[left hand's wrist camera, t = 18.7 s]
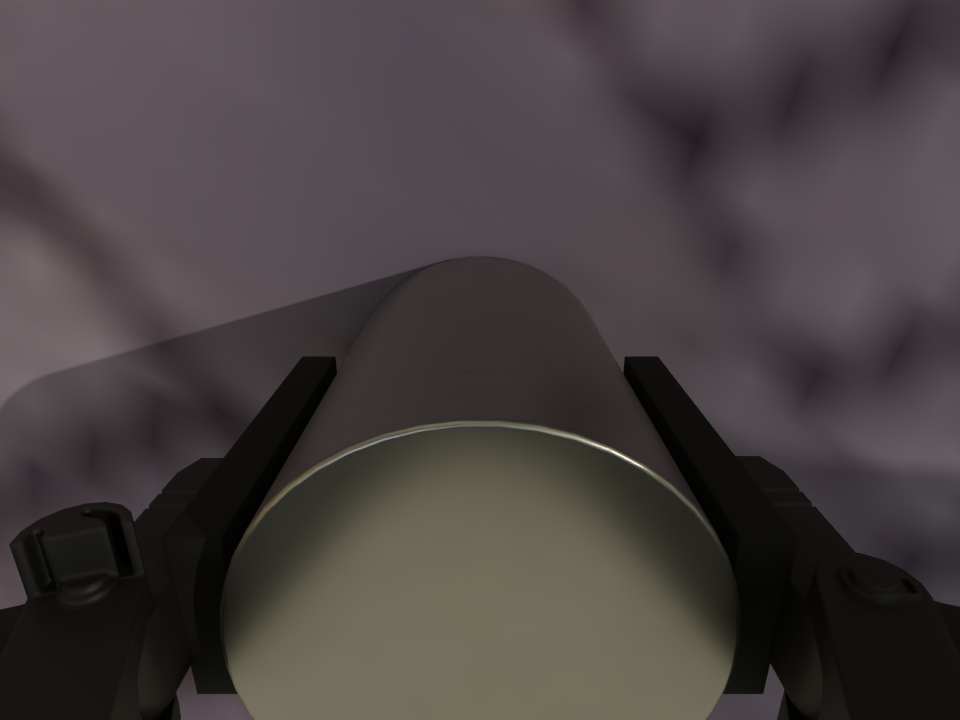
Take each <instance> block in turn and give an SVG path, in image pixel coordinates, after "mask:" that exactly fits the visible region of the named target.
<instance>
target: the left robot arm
mask: <svg viewBox="0 0 960 720" xmlns="http://www.w3.org/2000/svg"><path fill="white" fill-rule="evenodd" d="M623 374H624V376H625V377H626V379H627V381H628V382H629V384H630V386H631V388H632V389H633V391H634V393H635V394H636V396H637V398H638V400H639V401H640V403H641V405H642V406H643V408H644V410H645V412H646V413H647V415H648V417H649V419H650V420H651V422H652V424H653V425H654V427H655V429H656V431H657V432H658V434H659V436H660V437H661V439H662V441H663V443H664V444H665V446H666V448H667V449H668V451H669V453H670V455H671V456H672V458H673V460H674V461H675V463H676V465H677V467H678V468H679V470H680V472H681V473H682V475H683V477H684V479H685V480H686V482H687V484H688V485H689V487H690V489H691V491H692V492H693V494H694V496H695V497H696V499H697V501H698V503H699V504H700V506H701V508H702V509H703V511H704V513H705V515H706V516H707V518H708V520H709V522H710V523H711V525H712V527H713V528H714V530H715V532H716V534H717V536H718V538H719V540H720V541H721V543H722V545H723V547H724V549H725V551H726V553H727V555H728V557H729V560H730V563H731V566H732V569H733V572H734V575H735V578H736V582H737V587H738V594H739V601H740V608H741V614H740V640H739V645H738V650H737V655H736V660H735V665H734V667H733V670H732V673H731V675H730V678H729V681H728V683H727V686H726V688H725V690H724V692H723V694H763V691H764V687H765V683H766V679H767V674H768V670H769V666H770V663H771V665H772V667H773V669H774V671H775V672H776V674H777V676H778V678H779V680H780V682H781V683H782V685H783V687H784V689H785V690H784V694H783V698H782V702H781V706H780V710H779V714H778V718H777V720H960V607H958V606H953V605H948V604H944V603H940V602H936V601H934V600H933V598H932V597H931V595H930V594H929V593H928V591H927V590H926V589H925V587H924V586H923V585H922V584H921V583H920V582H919V581H918V580H916V579H915V578H914V577H912V576H911V575H910V574H908V573H907V572H906V571H904V570H903V569H901V568H898V567H896V566H894V565H892V564H890V563H888V562H886V561H884V560H882V559H878V558H875V557H871V556H868V555H865V554H861V553H856V552H855V551H854V550H853V549H852V548H851V547H850V546H849V544H848V543H847V542H846V541H845V540H844V539H843V538H842V537H841V535H840V534H839V533H838V532H837V531H836V530H835V529H834V527H833V526H832V525H831V524H830V523H829V522H828V521H827V520H826V518H825V517H824V516H823V515H822V514H821V513H820V512H819V511H818V509H817V508H816V507H812V503H811V501H810V500H809V499H808V498H807V497H806V496H805V495H804V494H803V492H799V488H798V487H797V486H796V485H795V483H794V482H793V481H792V480H791V479H790V478H789V477H788V475H787V474H786V473H785V472H784V471H783V470H781V469H779V468H778V467H776V466H774V465H773V464H771V463H770V462H768V461H766V460H765V459H763V458H761V457H760V456H735V455H734V454H733V453H732V451H731V450H730V449H729V447H728V446H727V445H726V444H725V442H724V441H723V440H722V438H721V437H720V436H719V435H718V433H717V432H716V431H715V429H714V428H713V427H712V426H711V424H710V423H709V422H708V420H707V419H706V418H705V417H704V415H703V414H702V413H701V411H700V410H699V409H698V408H697V406H696V405H695V404H694V402H693V401H692V400H691V399H690V397H689V396H688V395H687V393H686V392H685V391H684V390H683V388H682V387H681V386H680V384H679V383H678V382H677V381H676V379H675V378H674V377H673V375H672V374H671V373H670V372H669V370H668V369H667V368H666V366H665V365H664V364H663V363H662V361H661V360H660V359H659V357H625V362H624V373H623ZM336 375H337V368H336V358H335V357H302V358H301V359H300V361H299V362H298V363H297V364H296V366H295V367H294V368H293V370H292V371H291V372H290V373H289V375H288V376H287V377H286V379H285V380H284V381H283V382H282V384H281V385H280V386H279V388H278V389H277V390H276V391H275V393H274V394H273V395H272V397H271V398H270V399H269V400H268V402H267V403H266V404H265V406H264V407H263V408H262V409H261V411H260V412H259V413H258V415H257V416H256V417H255V418H254V420H253V421H252V422H251V424H250V425H249V426H248V427H247V429H246V430H245V431H244V433H243V434H242V435H241V436H240V438H239V439H238V440H237V442H236V443H235V444H234V445H233V447H232V448H231V449H230V451H229V452H228V453H227V455H226V456H225V457H224V458H201V459H199V460H198V461H196V462H194V463H193V464H191V465H190V466H188V467H186V468H185V469H183V470H181V471H180V472H178V473H177V474H176V475H175V476H174V477H173V478H172V480H171V481H170V482H169V483H168V484H167V485H166V486H165V488H164V489H163V490H162V494H158V496H157V497H156V498H155V499H154V500H153V501H152V502H151V504H150V505H149V509H145V510H144V512H143V513H142V514H141V515H140V516H139V517H138V518H137V519H136V521H135V522H134V521H133V517H132V513H131V511H129V510H128V509H127V508H125V507H124V506H123V505H119V504H114V503H108V502H102V503H89V504H83V505H79V506H75V507H71V508H67V509H63V510H60V511H58V512H56V513H53V514H51V515H49V516H46V517H44V518H42V519H39V520H38V521H36V522H35V523H33V524H32V525H30V526H29V527H27V528H26V529H24V530H23V531H21V532H20V533H19V534H18V535H17V537H16V538H15V539H14V540H13V541H12V542H11V543H10V544H9V545H10V548H11V551H12V554H13V557H14V559H15V562H16V565H17V568H18V571H19V574H20V577H21V580H22V583H23V586H24V588H25V591H26V594H27V597H28V599H27V601H26V603H25V604H23V605H20V606H15V607H11V608H6V609H1V610H0V720H181V714H180V707H179V702H178V698H177V694H176V691H177V689H178V688H179V686H180V684H181V682H182V680H183V678H184V676H185V675H186V673H187V671H188V669H189V667H190V665H191V668H192V672H193V677H194V681H195V685H196V690H197V694H238V693H237V691H236V689H235V687H234V684H233V682H232V679H231V676H230V674H229V671H228V669H227V666H226V662H225V657H224V652H223V647H222V643H221V628H220V606H221V599H222V591H223V584H224V581H225V577H226V574H227V571H228V568H229V565H230V562H231V559H232V556H233V554H234V552H235V550H236V548H237V546H238V545H239V543H240V541H241V539H242V537H243V535H244V533H245V531H246V529H247V528H248V526H249V524H250V522H251V521H252V519H253V517H254V516H255V514H256V512H257V510H258V509H259V507H260V505H261V504H262V502H263V500H264V498H265V497H266V495H267V493H268V492H269V490H270V488H271V486H272V485H273V483H274V481H275V479H276V478H277V476H278V474H279V473H280V471H281V469H282V467H283V466H284V464H285V462H286V461H287V459H288V457H289V455H290V454H291V452H292V450H293V449H294V447H295V445H296V443H297V442H298V440H299V438H300V436H301V435H302V433H303V431H304V430H305V428H306V426H307V424H308V423H309V421H310V419H311V418H312V416H313V414H314V412H315V411H316V409H317V407H318V406H319V404H320V402H321V400H322V399H323V397H324V395H325V393H326V392H327V390H328V388H329V387H330V385H331V383H332V381H333V380H334V378H335V376H336Z"/></svg>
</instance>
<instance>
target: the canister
mask: <svg viewBox="0 0 960 720" xmlns="http://www.w3.org/2000/svg"><path fill="white" fill-rule="evenodd" d="M740 614H741V608H740V601H739V594H738V587H737V582H736V578H735V575H734V572H733V569H732V566H731V563H730V560H729V557H728V555H727V553H726V551H725V549H724V547H723V545H722V543H721V541H720V540H719V538H718V536H717V534H716V532H715V530H714V528H713V527H712V525H711V523H710V522H709V520H708V518H707V516H706V515H705V513H704V511H703V509H702V508H701V506H700V504H699V503H698V501H697V499H696V497H695V496H694V494H693V492H692V491H691V489H690V487H689V485H688V484H687V482H686V480H685V479H684V477H683V475H682V473H681V472H680V470H679V468H678V467H677V465H676V463H675V461H674V460H673V458H672V456H671V455H670V453H669V451H668V449H667V448H666V446H665V444H664V443H663V441H662V439H661V437H660V436H659V434H658V432H657V431H656V429H655V427H654V425H653V424H652V422H651V420H650V419H649V417H648V415H647V413H646V412H645V410H644V408H643V406H642V405H641V403H640V401H639V400H638V398H637V396H636V394H635V393H634V391H633V389H632V388H631V386H630V384H629V382H628V381H627V379H626V377H625V376H624V374H623V372H622V370H621V369H620V367H619V365H618V364H617V362H616V360H615V358H614V357H613V355H612V353H611V352H610V350H609V348H608V346H607V345H606V343H605V341H604V340H603V338H602V336H601V334H600V333H599V331H598V329H597V328H596V326H595V324H594V322H593V321H592V319H591V317H590V316H589V314H588V312H587V311H586V310H585V308H584V307H583V306H582V304H581V303H580V302H579V300H578V299H577V298H576V297H575V296H574V295H573V294H572V293H571V292H570V291H569V290H568V289H567V288H565V287H564V286H563V285H562V284H560V283H559V282H558V281H556V280H555V279H554V278H552V277H550V276H548V275H547V274H545V273H543V272H542V271H540V270H538V269H535V268H533V267H530V266H528V265H525V264H523V263H519V262H515V261H512V260H508V259H502V258H494V257H466V258H459V259H452V260H449V261H445V262H441V263H438V264H435V265H432V266H430V267H428V268H425V269H423V270H420V271H419V272H417V273H415V274H414V275H412V276H410V277H408V278H407V279H405V280H404V281H403V282H401V283H400V284H399V285H398V286H396V287H395V288H394V289H392V290H391V292H390V293H389V294H388V295H387V296H386V297H385V298H384V299H383V300H382V301H381V302H380V303H379V305H378V306H377V308H376V309H375V310H374V312H373V313H372V314H371V316H370V318H369V320H368V321H367V323H366V325H365V326H364V328H363V330H362V332H361V333H360V335H359V337H358V338H357V340H356V342H355V344H354V345H353V347H352V349H351V350H350V352H349V354H348V356H347V357H346V359H345V361H344V363H343V364H342V366H341V368H340V369H339V371H338V373H337V375H336V376H335V378H334V380H333V381H332V383H331V385H330V387H329V388H328V390H327V392H326V393H325V395H324V397H323V399H322V400H321V402H320V404H319V406H318V407H317V409H316V411H315V412H314V414H313V416H312V418H311V419H310V421H309V423H308V424H307V426H306V428H305V430H304V431H303V433H302V435H301V436H300V438H299V440H298V442H297V443H296V445H295V447H294V449H293V450H292V452H291V454H290V455H289V457H288V459H287V461H286V462H285V464H284V466H283V467H282V469H281V471H280V473H279V474H278V476H277V478H276V479H275V481H274V483H273V485H272V486H271V488H270V490H269V492H268V493H267V495H266V497H265V498H264V500H263V502H262V504H261V505H260V507H259V509H258V510H257V512H256V514H255V516H254V517H253V519H252V521H251V522H250V524H249V526H248V528H247V529H246V531H245V533H244V535H243V537H242V539H241V541H240V543H239V545H238V546H237V548H236V550H235V552H234V554H233V556H232V559H231V562H230V565H229V568H228V571H227V574H226V577H225V581H224V584H223V591H222V599H221V606H220V628H221V643H222V647H223V652H224V657H225V662H226V666H227V669H228V671H229V674H230V676H231V679H232V682H233V684H234V687H235V689H236V691H237V693H238V695H239V696H240V698H241V700H242V702H243V703H244V705H245V707H246V709H247V710H248V712H249V713H250V715H251V716H252V717H253V719H254V720H706V719H707V718H708V717H709V715H710V714H711V713H712V712H713V710H714V708H715V706H716V705H717V703H718V701H719V699H720V697H721V696H722V694H723V692H724V690H725V688H726V686H727V683H728V681H729V678H730V675H731V673H732V670H733V667H734V665H735V660H736V655H737V650H738V645H739V640H740Z"/></svg>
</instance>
